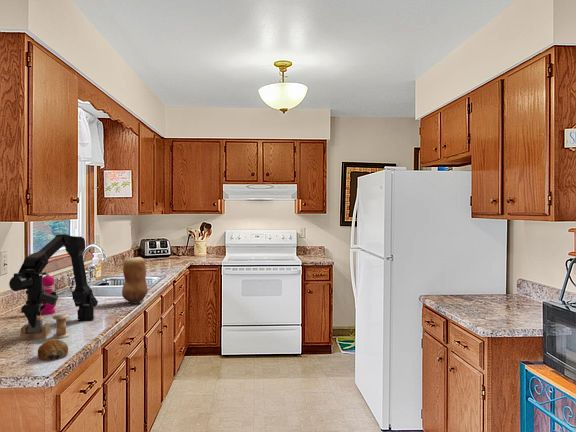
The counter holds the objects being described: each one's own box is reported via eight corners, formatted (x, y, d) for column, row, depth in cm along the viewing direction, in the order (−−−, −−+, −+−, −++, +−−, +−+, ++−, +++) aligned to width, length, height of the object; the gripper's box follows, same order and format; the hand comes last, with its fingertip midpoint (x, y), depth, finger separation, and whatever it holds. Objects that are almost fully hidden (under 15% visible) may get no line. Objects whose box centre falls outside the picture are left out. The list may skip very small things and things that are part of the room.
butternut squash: (118, 302, 279) (118, 256, 279) (142, 299, 287) (142, 255, 287) (127, 306, 268) (127, 259, 268) (152, 303, 276) (152, 257, 276)
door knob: (70, 334, 211) (70, 313, 211) (67, 337, 205) (67, 317, 205) (54, 335, 210) (54, 314, 209) (51, 338, 204) (51, 317, 204)
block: (30, 331, 208) (30, 316, 208) (42, 330, 209) (42, 315, 209) (28, 333, 205) (28, 318, 205) (40, 332, 206) (40, 317, 206)
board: (51, 331, 215) (50, 321, 215) (45, 338, 205) (45, 327, 205) (27, 332, 213) (27, 322, 213) (20, 339, 202) (20, 328, 202)
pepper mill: (51, 311, 256) (51, 271, 256) (58, 313, 252) (58, 272, 251) (37, 313, 251) (36, 272, 250) (44, 315, 246) (43, 274, 246)
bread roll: (70, 363, 184) (74, 341, 187) (60, 359, 175) (64, 336, 178) (42, 364, 184) (46, 341, 187) (30, 359, 174) (34, 336, 177)
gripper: (52, 290, 199) (52, 330, 200) (60, 283, 218) (60, 319, 218) (20, 291, 197) (21, 331, 197) (31, 284, 215) (32, 321, 215)
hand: (35, 325), depth 207 cm, fingers open, 6 cm apart
